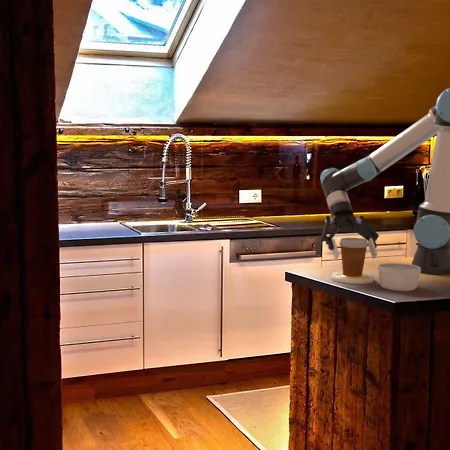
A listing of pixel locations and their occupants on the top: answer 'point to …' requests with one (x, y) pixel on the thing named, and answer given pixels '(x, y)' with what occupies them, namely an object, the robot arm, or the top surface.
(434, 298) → the top surface
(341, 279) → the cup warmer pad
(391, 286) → the ramekin
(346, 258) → the disposable coffee cup
